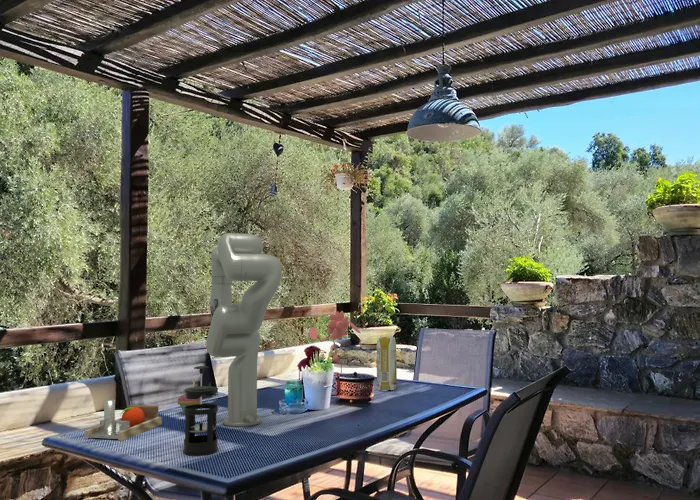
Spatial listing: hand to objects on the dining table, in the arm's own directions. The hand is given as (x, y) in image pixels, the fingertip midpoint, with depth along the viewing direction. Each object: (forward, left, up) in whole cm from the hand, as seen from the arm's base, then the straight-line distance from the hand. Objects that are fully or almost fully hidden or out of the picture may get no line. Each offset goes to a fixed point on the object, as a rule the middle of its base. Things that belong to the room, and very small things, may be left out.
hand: (221, 327), depth 223 cm
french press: (-51, +29, -31) cm, 66 cm away
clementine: (-12, +36, -31) cm, 49 cm away
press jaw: (-19, +44, -30) cm, 57 cm away
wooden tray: (-14, +39, -30) cm, 51 cm away
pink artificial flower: (-1, -53, -31) cm, 61 cm away
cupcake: (0, +12, -31) cm, 33 cm away
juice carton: (-6, -75, -31) cm, 81 cm away
